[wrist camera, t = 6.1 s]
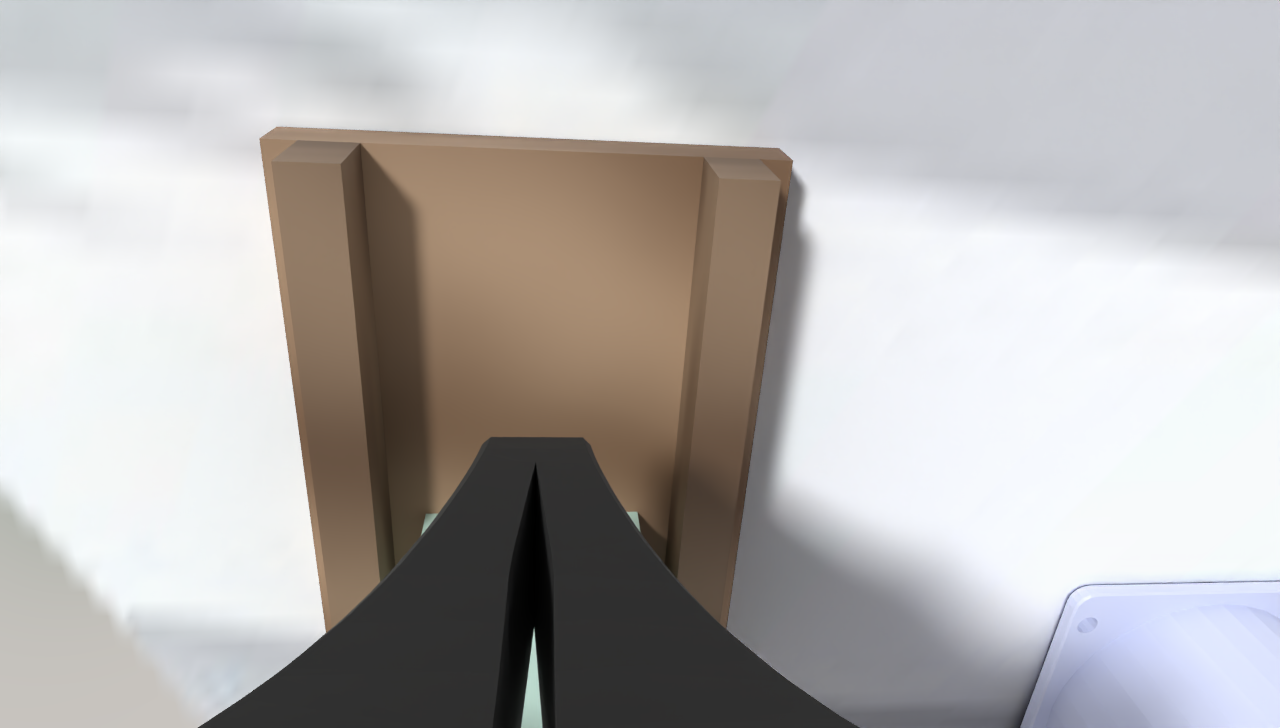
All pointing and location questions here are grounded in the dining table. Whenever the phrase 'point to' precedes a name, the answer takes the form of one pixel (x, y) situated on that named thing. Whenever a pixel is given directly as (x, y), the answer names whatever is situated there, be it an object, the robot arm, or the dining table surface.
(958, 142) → the dining table surface
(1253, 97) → the dining table surface
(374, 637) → the robot arm
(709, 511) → the chute
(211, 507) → the dining table surface
